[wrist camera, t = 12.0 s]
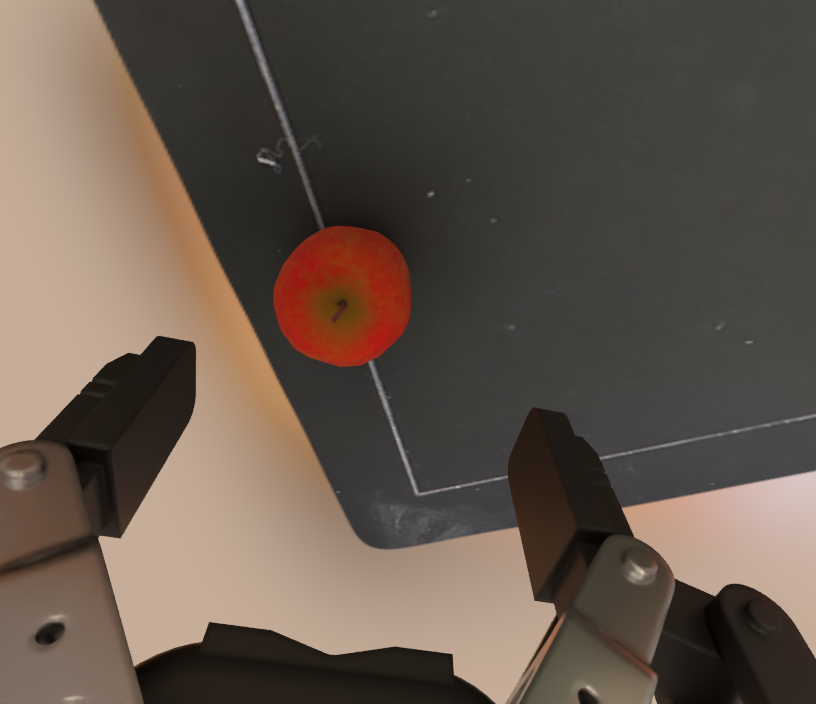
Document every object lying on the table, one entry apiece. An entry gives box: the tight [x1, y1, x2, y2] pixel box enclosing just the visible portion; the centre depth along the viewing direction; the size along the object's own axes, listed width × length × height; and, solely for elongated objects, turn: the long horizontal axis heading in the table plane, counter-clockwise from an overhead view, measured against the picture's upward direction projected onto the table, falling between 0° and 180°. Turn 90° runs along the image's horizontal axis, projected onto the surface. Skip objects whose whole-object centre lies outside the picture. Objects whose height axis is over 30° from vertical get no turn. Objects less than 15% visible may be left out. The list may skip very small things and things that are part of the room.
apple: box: [273, 226, 412, 367], centre depth 25 cm, size 6×6×8 cm
